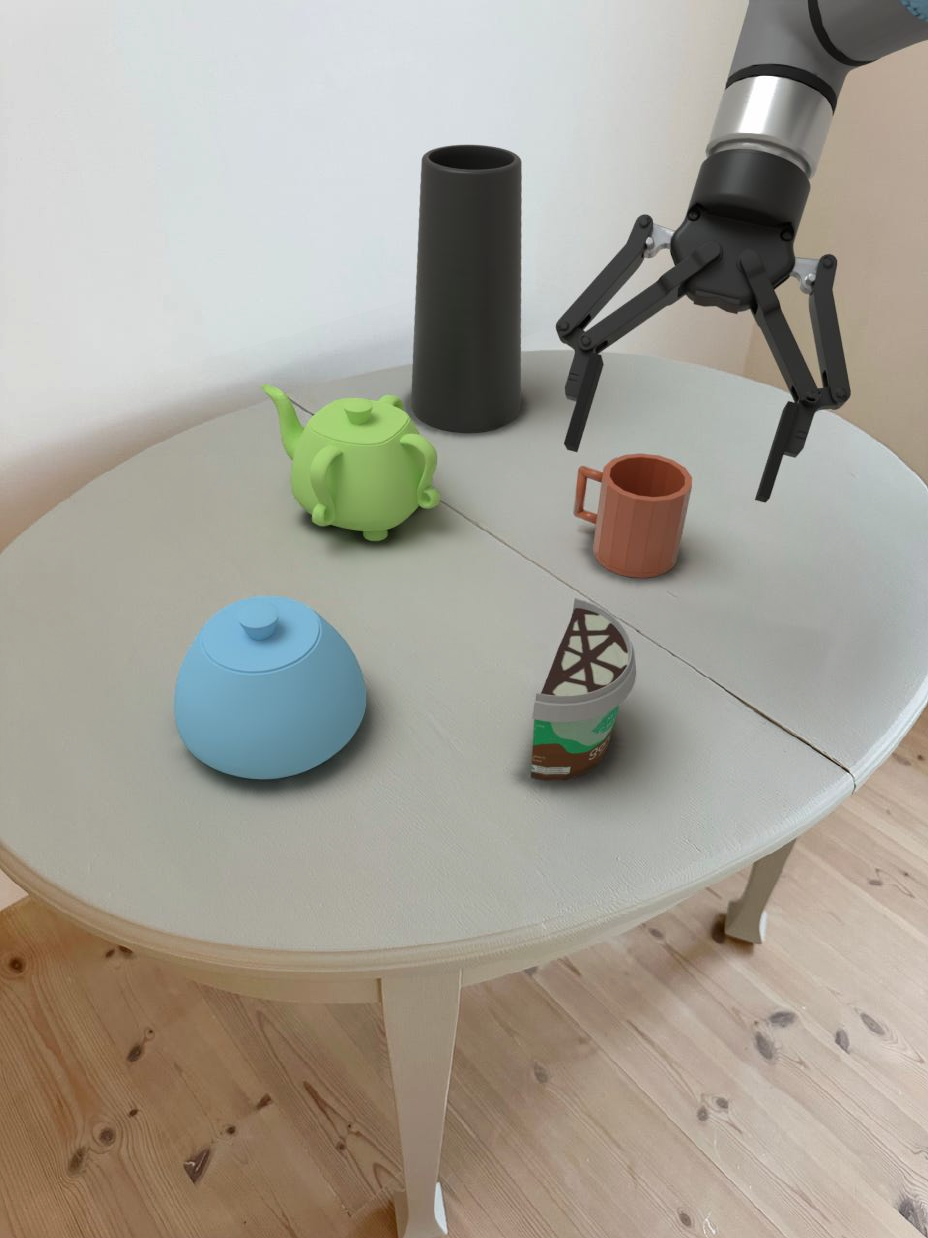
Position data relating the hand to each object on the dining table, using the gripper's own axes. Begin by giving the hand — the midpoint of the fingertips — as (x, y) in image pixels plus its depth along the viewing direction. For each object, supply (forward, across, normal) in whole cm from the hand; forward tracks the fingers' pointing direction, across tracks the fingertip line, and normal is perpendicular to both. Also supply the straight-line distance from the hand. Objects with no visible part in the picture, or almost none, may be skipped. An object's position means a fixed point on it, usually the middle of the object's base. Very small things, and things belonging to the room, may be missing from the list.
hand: (664, 473), depth 66 cm
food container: (+21, 0, -9) cm, 23 cm away
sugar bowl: (+27, +24, -5) cm, 37 cm away
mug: (+4, +3, -30) cm, 31 cm away
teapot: (+8, +31, -29) cm, 44 cm away
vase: (-8, +28, -50) cm, 57 cm away
